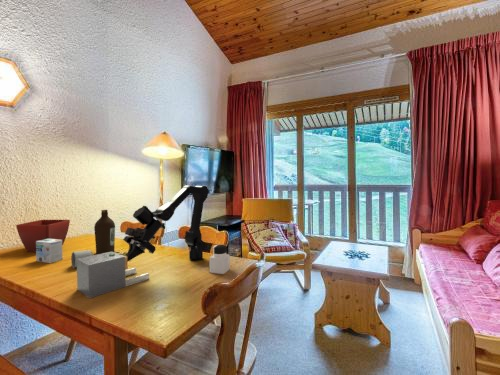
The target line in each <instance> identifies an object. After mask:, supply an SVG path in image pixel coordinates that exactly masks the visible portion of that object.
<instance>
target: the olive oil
mask: <svg viewBox="0 0 500 375" xmlns="http://www.w3.org/2000/svg"><path fill="white" fill-rule="evenodd" d="M100 216H101V217H99V218H98V220H97V221H96V222H95V223H94V227H93V228H94V238H95V240H94V241H95V242H94V243H95V253H96V254H95V255H97V254H102V253H107V252H114V253H115V244H116V242H115V241H116V240H115V239H116V237H115V236H116V224H115V221H114V220H113V219H112V218H110V217H109V212H108V209H101V213H100Z"/></svg>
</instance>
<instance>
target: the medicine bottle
mask: <svg viewBox="0 0 500 375" xmlns="http://www.w3.org/2000/svg"><path fill="white" fill-rule="evenodd" d="M230 257H231V256H230V254H228V253H227V246H226V245H224V244H222V243H220V244H215V245H214V246H213V247H212V255H211V256H209V273H211V274H220V275H224V274H226V273H227V272H228V271H229V270H230V269H231V268H230V267H231V266H230V264H231V263H230V260H231V259H230Z"/></svg>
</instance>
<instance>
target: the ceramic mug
mask: <svg viewBox="0 0 500 375" xmlns="http://www.w3.org/2000/svg"><path fill="white" fill-rule="evenodd" d="M93 255H94V253H93V251H92V250H89V249H88V250H87V249H86V250H78V251H73V252H72V253H71V266H72V268H73V269H75V268H76V269H77V259H78V258H83V257H88V256H93Z"/></svg>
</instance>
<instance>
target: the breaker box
mask: <svg viewBox="0 0 500 375" xmlns="http://www.w3.org/2000/svg"><path fill="white" fill-rule="evenodd" d="M124 256H125V255H123V256H122V254H120V253H117V252H115V251H114V252H107V253H102V254H93V256H88V257H83V258H78V259H77V267H76V280H77V281H76V283H77V284H76V285H77V288H76V289H77V290H78V291H79V292H80V293H82V294H83V295H84V296H85V297H86V298H88V299H92V298H94V297H97V296H100V295H101V296H102V295H104V294H107V293H110V292H113V291H116V290H119V289H122V288H125V287H128V286H131V285H134V284H137V283H141V282H144V281H146V280H149V279H150V273H149V272H146V273H142V274H139V275H137V276H133V277H129V278H127V279H126V277H127V276H130V275H131V276H132V275H134V274H137V267H132V268H128V269H126V270H125V257H124Z"/></svg>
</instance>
